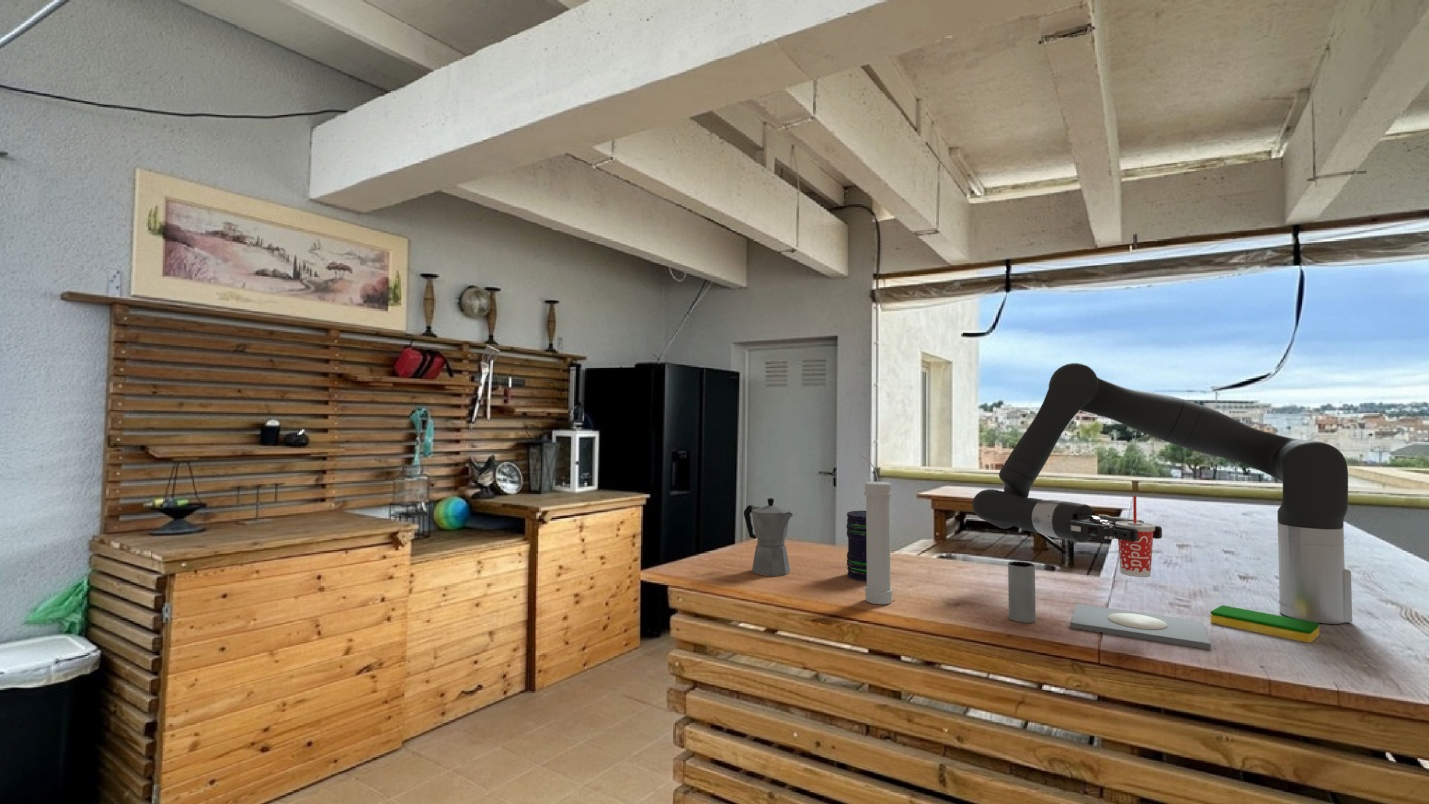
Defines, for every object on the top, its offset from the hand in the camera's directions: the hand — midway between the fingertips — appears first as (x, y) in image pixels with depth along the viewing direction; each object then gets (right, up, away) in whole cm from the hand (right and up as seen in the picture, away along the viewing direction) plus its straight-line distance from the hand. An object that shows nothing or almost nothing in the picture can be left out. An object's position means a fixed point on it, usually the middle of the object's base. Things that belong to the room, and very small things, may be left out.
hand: (1148, 534), depth 115 cm
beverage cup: (-1, -8, +2) cm, 8 cm away
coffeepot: (-64, -18, +45) cm, 80 cm away
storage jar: (-40, -18, +39) cm, 59 cm away
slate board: (-1, -17, +2) cm, 17 cm away
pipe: (-44, -18, +18) cm, 50 cm away
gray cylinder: (-19, -17, +6) cm, 27 cm away
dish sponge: (+21, -18, +1) cm, 28 cm away
